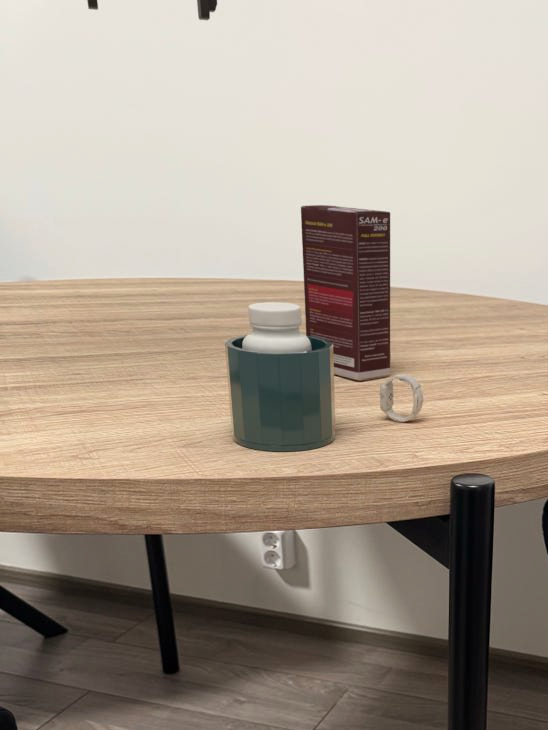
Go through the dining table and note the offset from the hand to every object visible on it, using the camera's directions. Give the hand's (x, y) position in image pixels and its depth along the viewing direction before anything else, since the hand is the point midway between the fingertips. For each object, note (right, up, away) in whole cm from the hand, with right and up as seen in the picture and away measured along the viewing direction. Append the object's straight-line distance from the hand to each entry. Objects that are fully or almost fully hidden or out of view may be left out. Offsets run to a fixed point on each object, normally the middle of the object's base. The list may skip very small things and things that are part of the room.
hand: (150, 14), depth 76 cm
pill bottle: (+10, -34, +1) cm, 35 cm away
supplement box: (+13, -22, +24) cm, 35 cm away
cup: (+11, -34, +1) cm, 36 cm away
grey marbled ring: (+20, -31, +8) cm, 38 cm away
